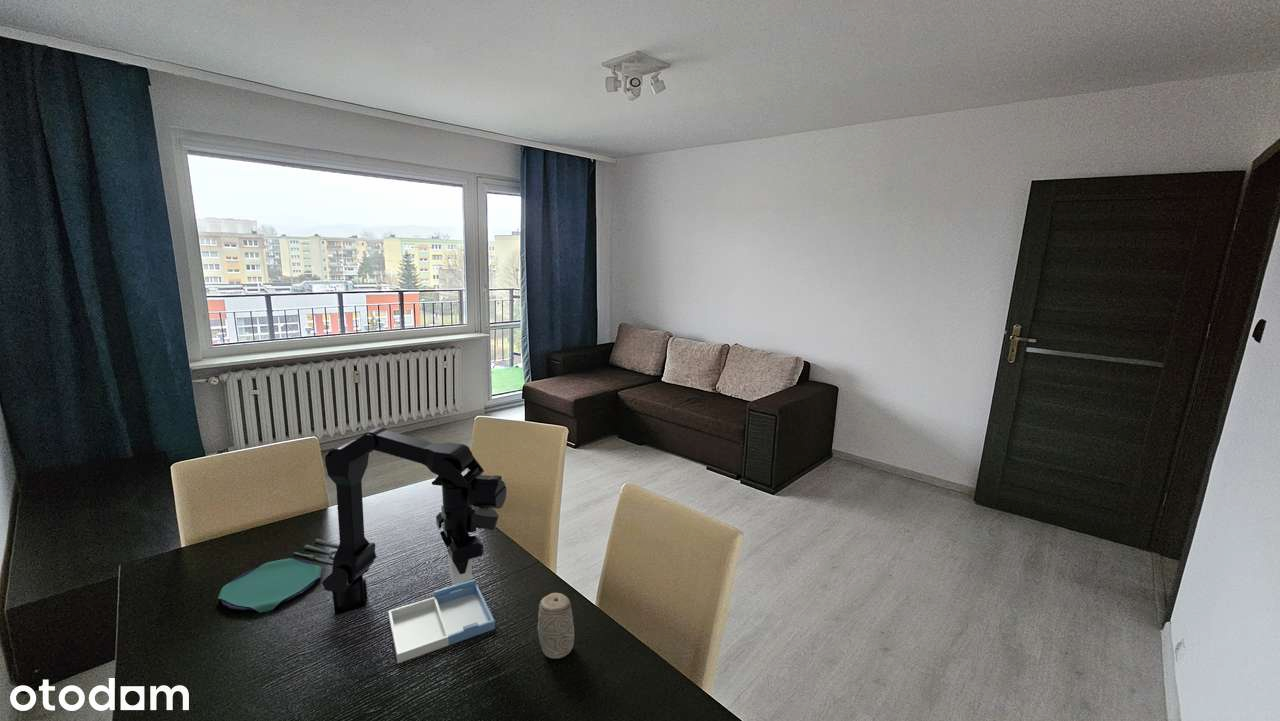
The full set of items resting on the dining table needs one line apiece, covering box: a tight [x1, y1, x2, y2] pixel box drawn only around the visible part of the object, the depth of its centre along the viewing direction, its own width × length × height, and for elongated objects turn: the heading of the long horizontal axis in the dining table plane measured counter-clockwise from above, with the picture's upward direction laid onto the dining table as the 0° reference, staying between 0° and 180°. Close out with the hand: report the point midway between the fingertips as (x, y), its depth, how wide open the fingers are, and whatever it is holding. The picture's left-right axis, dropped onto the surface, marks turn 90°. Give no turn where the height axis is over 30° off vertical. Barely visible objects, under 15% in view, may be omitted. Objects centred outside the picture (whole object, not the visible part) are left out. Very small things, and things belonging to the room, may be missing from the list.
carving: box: [537, 592, 575, 659], centre depth 105 cm, size 6×8×12 cm
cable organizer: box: [387, 578, 496, 664], centre depth 113 cm, size 20×16×4 cm
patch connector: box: [447, 546, 473, 585], centre depth 113 cm, size 4×4×9 cm
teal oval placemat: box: [217, 538, 339, 614], centre depth 129 cm, size 20×30×2 cm, turn 164°
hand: (460, 568), depth 113 cm, fingers closed on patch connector, 4 cm apart
